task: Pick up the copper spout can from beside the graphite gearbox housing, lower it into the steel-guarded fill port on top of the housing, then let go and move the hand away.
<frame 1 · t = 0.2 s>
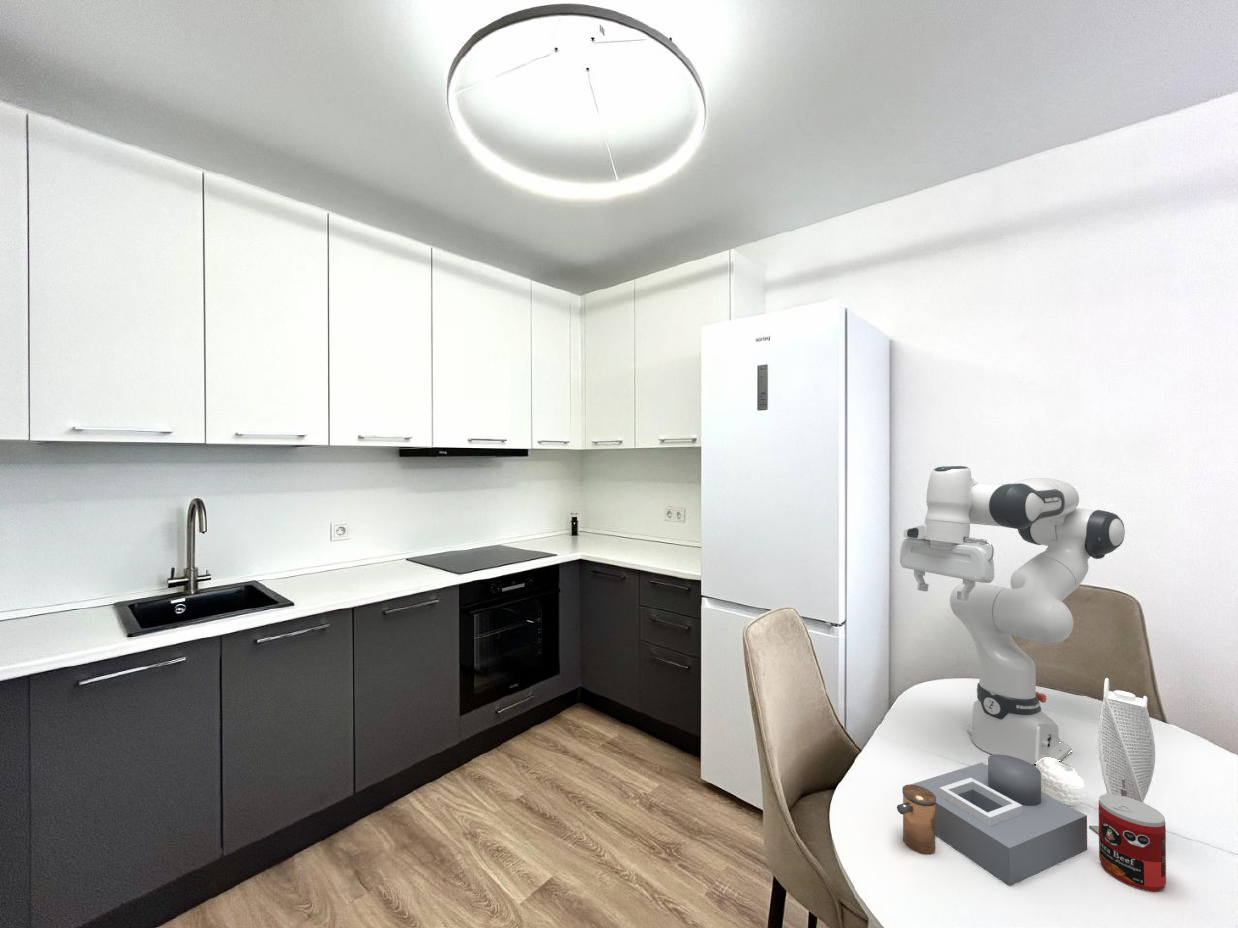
hand: (941, 595, 116), 39 cm above the table, tool pointing down, fingers open, 8 cm apart
canned food: (1131, 875, 85), on the table
skyscraper: (1125, 839, 93), on the table
spout can: (918, 844, 91), on the table
gearbox housing: (993, 832, 94), on the table
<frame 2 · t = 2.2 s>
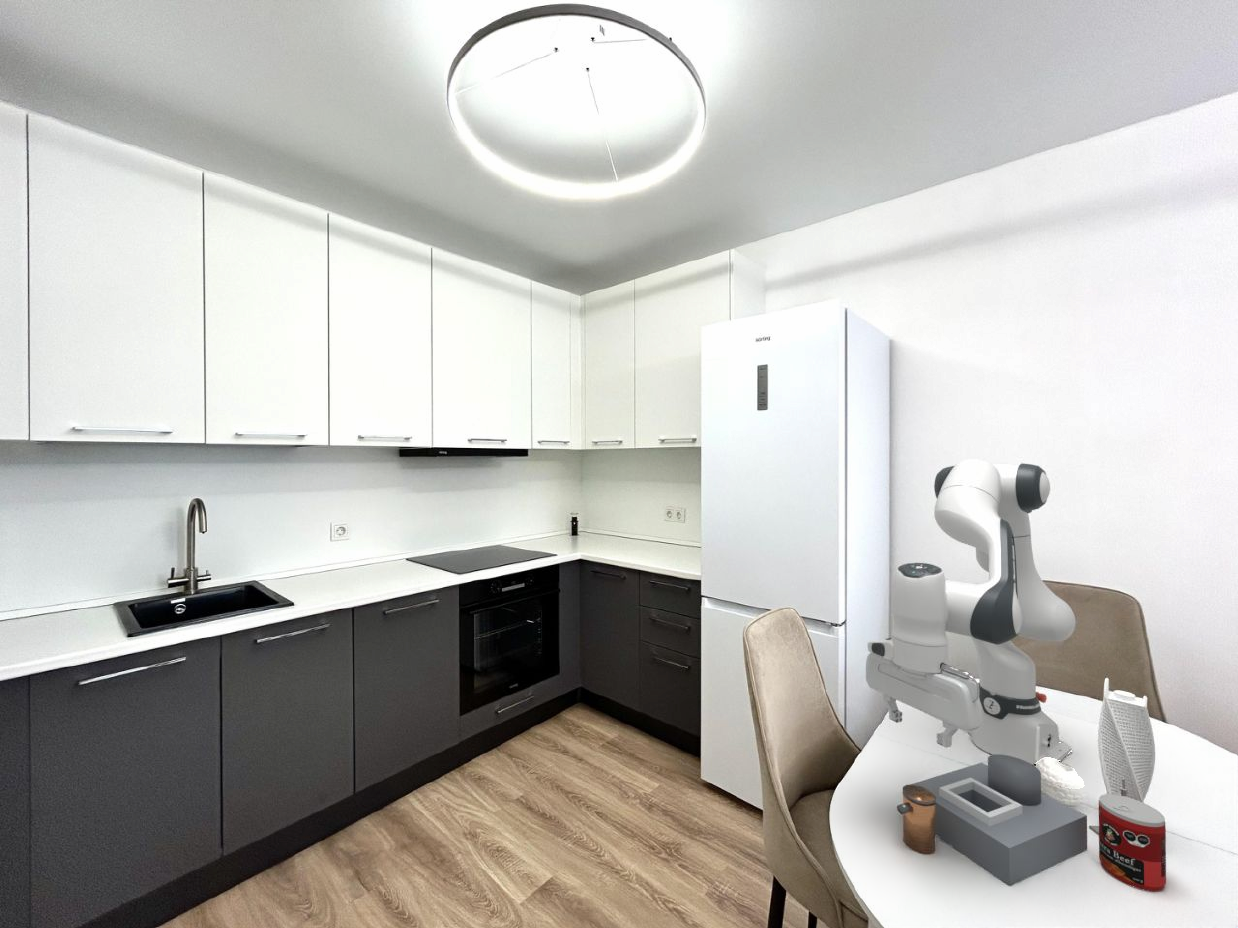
hand: (918, 732, 92), 20 cm above the table, tool pointing down, fingers open, 8 cm apart
nothing on the table moved.
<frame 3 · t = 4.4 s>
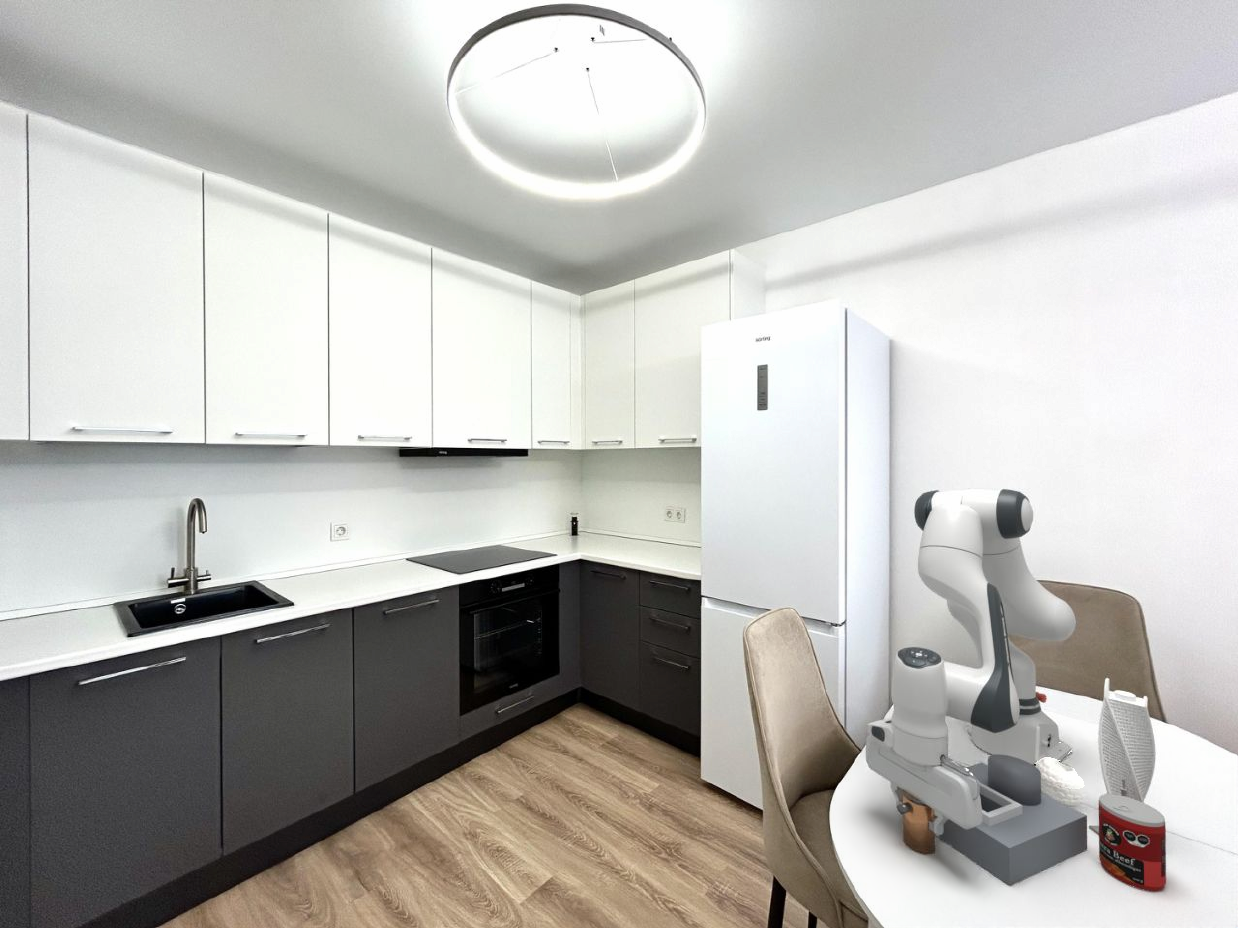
hand: (919, 820, 91), 4 cm above the table, tool pointing down, fingers closed on spout can, 5 cm apart
spout can: (918, 844, 91), on the table, touching gripper
everything else where it was.
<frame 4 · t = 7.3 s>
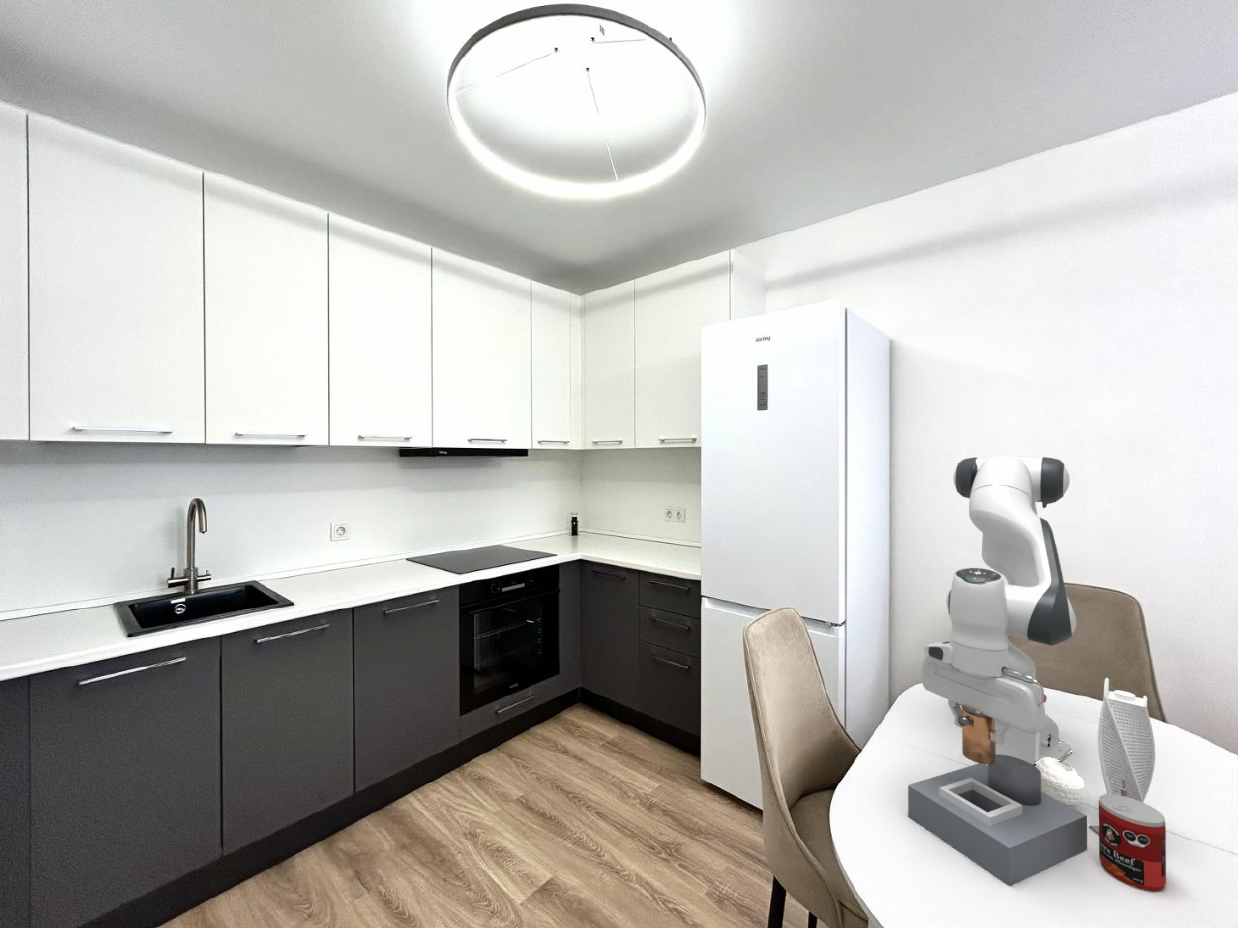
hand: (978, 734, 94), 19 cm above the table, tool pointing down, fingers closed on spout can, 5 cm apart
spout can: (978, 756, 94), point 15 cm above the table, touching gripper
everything else where it was.
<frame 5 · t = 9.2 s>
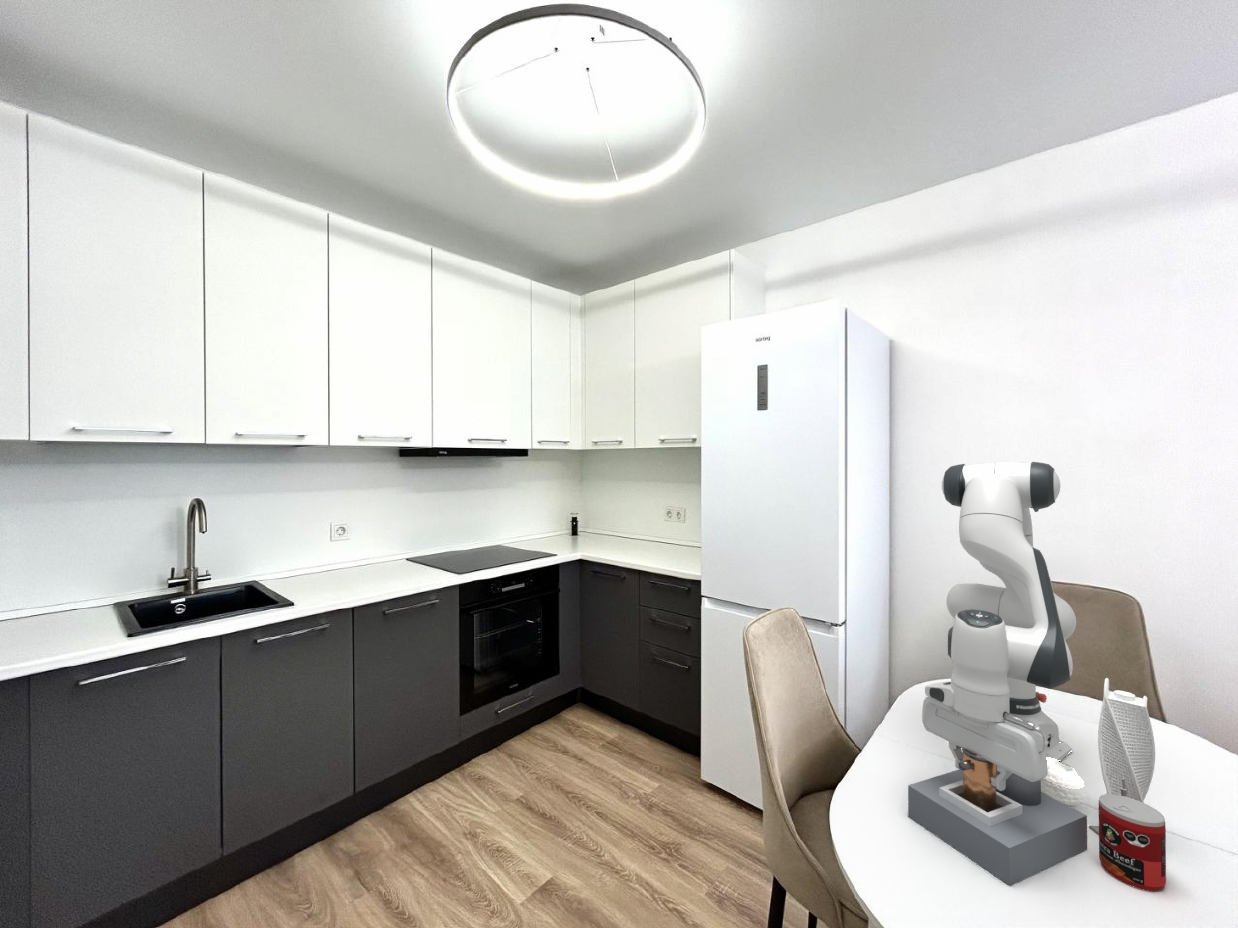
hand: (979, 778, 93), 11 cm above the table, tool pointing down, fingers closed on spout can, 5 cm apart
spout can: (979, 800, 93), point 7 cm above the table, touching gripper
everything else where it was.
when the fingers open (9 cm above the table, at t = 10.5 s): spout can drops 2 cm, resting on gearbox housing.
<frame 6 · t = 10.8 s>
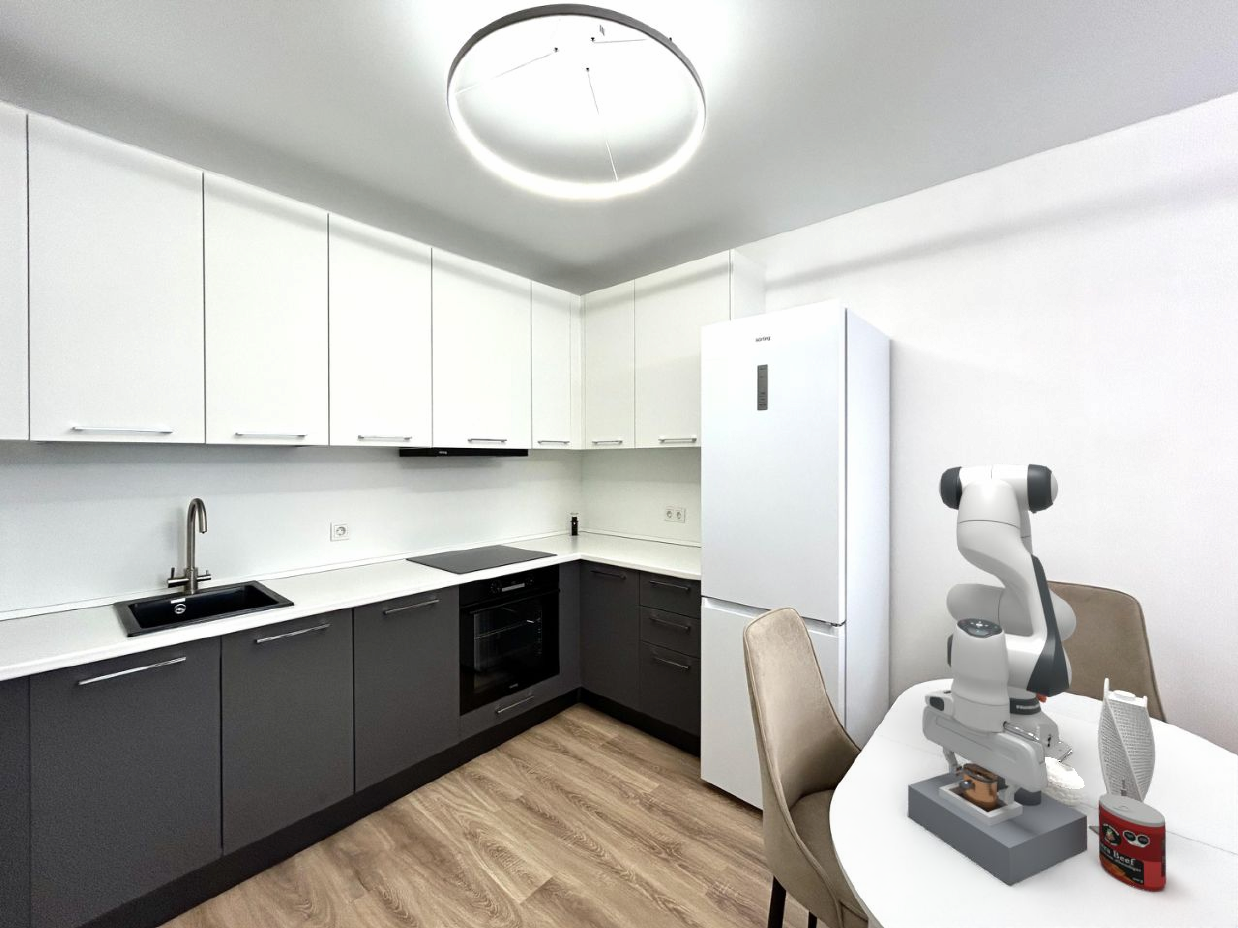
hand: (979, 787, 93), 9 cm above the table, tool pointing down, fingers open, 8 cm apart
spout can: (979, 820, 93), point 3 cm above the table, touching gearbox housing
everything else where it was.
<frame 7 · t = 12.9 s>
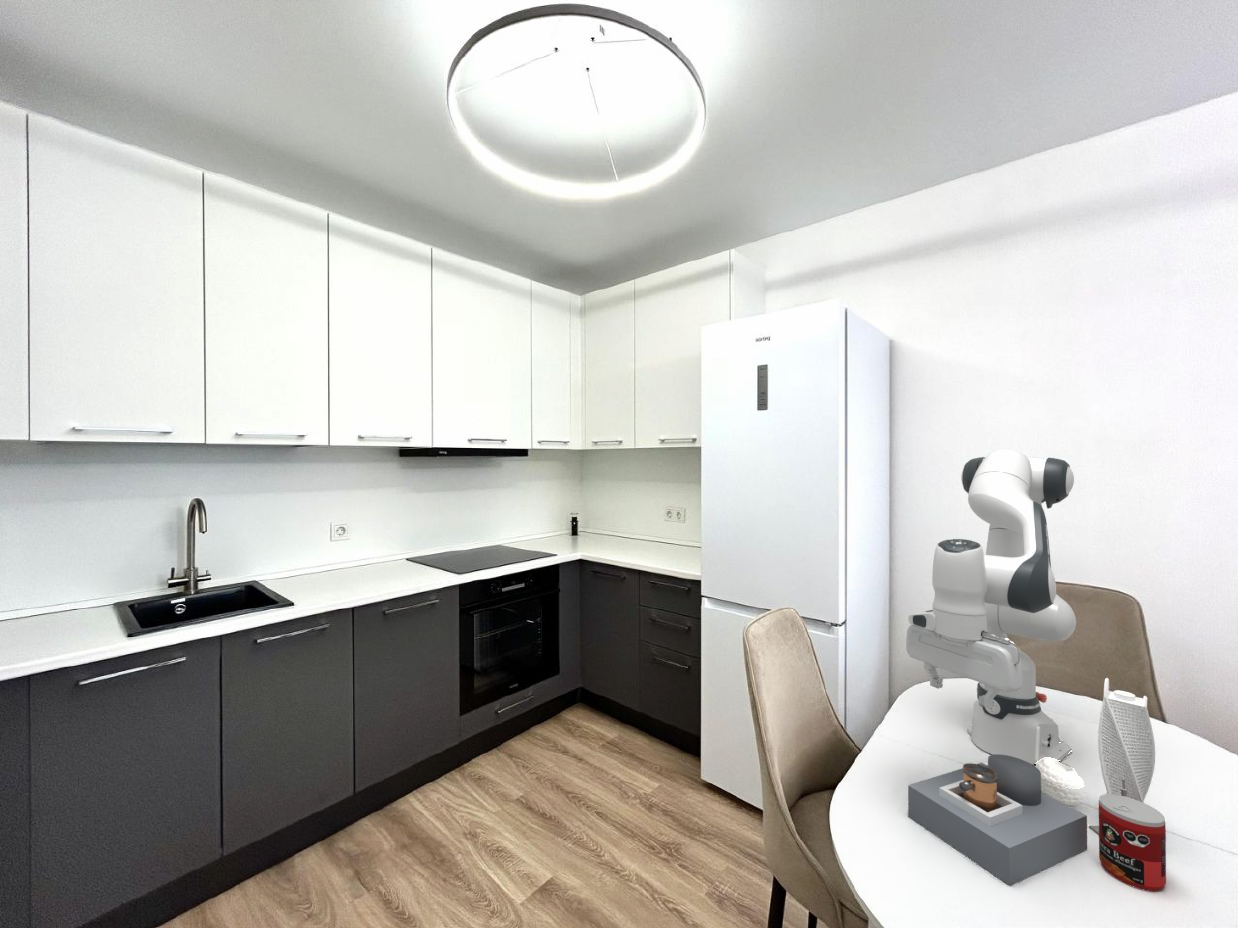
hand: (960, 696, 98), 24 cm above the table, tool pointing down, fingers open, 8 cm apart
nothing on the table moved.
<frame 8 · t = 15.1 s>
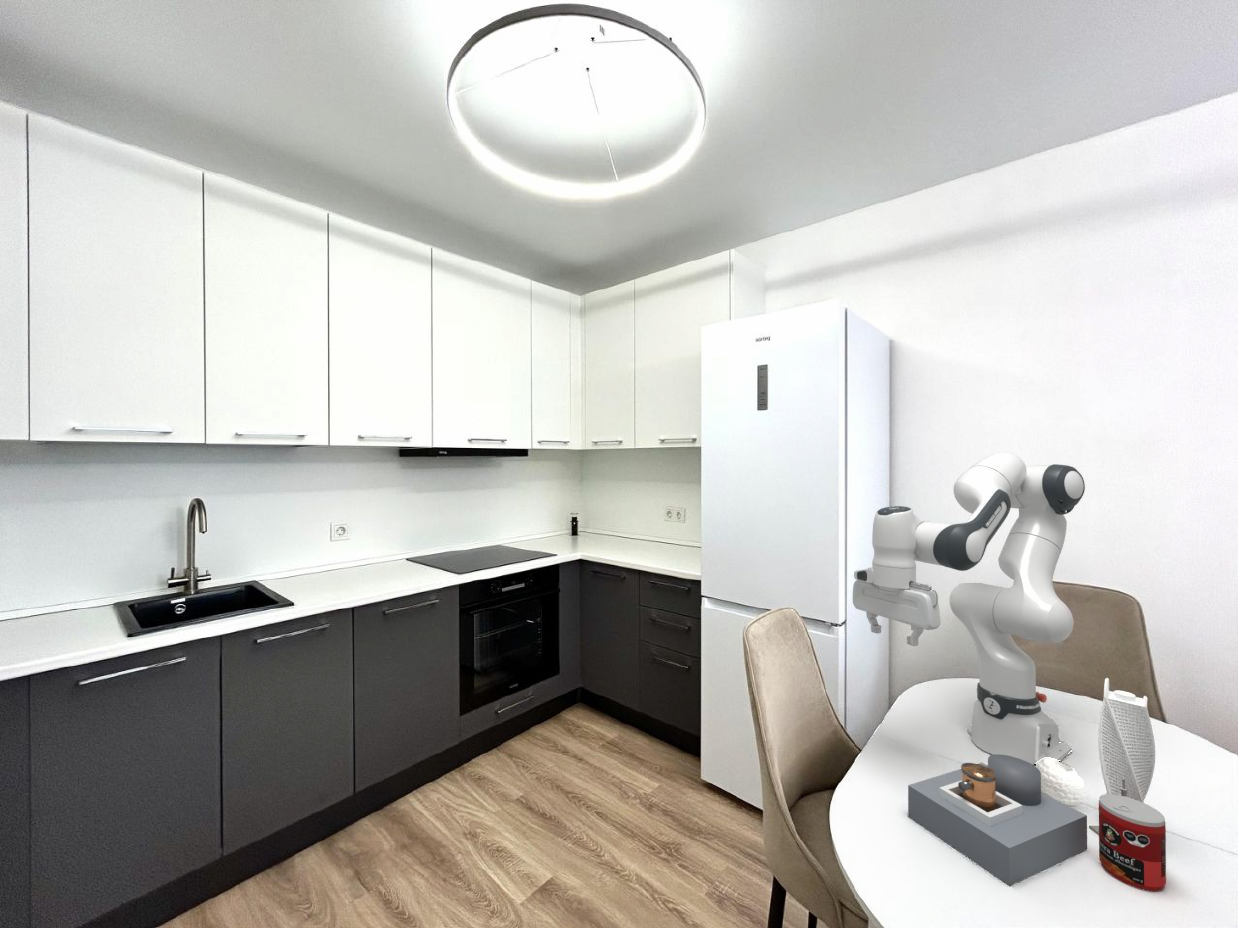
hand: (893, 638, 116), 29 cm above the table, tool pointing down, fingers open, 8 cm apart
nothing on the table moved.
at the end: spout can 0.1 cm from the target spot on the gearbox housing, point 3.0 cm above the gearbox housing's base; spout can tilted 1°; the gripper is holding nothing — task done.
